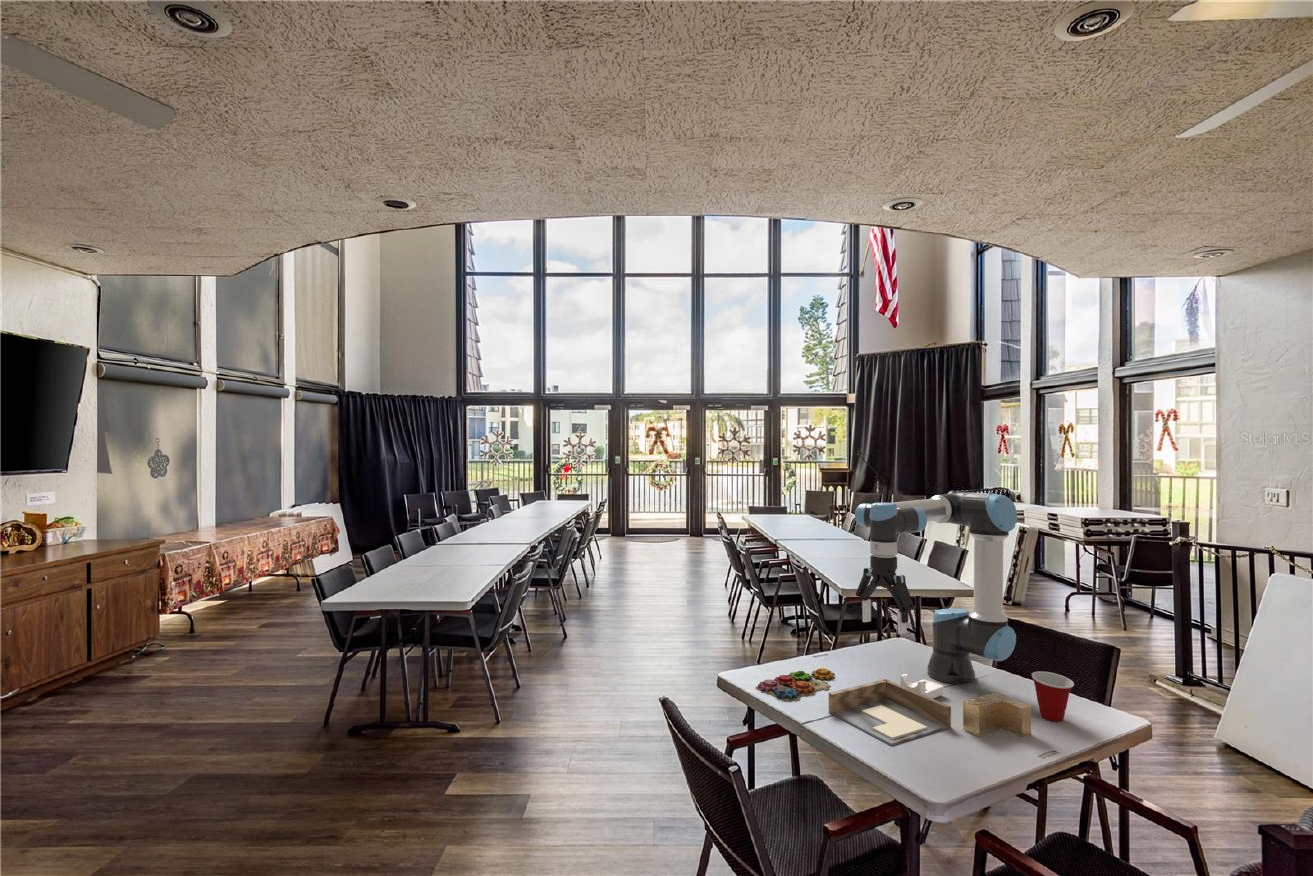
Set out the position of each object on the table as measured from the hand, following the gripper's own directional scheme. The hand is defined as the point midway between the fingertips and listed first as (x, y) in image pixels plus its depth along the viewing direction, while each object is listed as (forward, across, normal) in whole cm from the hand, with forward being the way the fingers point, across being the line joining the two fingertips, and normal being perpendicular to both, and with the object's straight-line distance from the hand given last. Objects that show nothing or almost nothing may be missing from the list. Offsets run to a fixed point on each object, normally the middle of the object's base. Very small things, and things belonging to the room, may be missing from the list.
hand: (883, 627), depth 191 cm
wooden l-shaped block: (+27, +20, +22) cm, 41 cm away
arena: (+27, +1, +1) cm, 27 cm away
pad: (+27, +3, -2) cm, 27 cm away
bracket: (+28, -6, +24) cm, 37 cm away
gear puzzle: (+28, -32, -3) cm, 43 cm away
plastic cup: (+28, +22, +45) cm, 57 cm away
